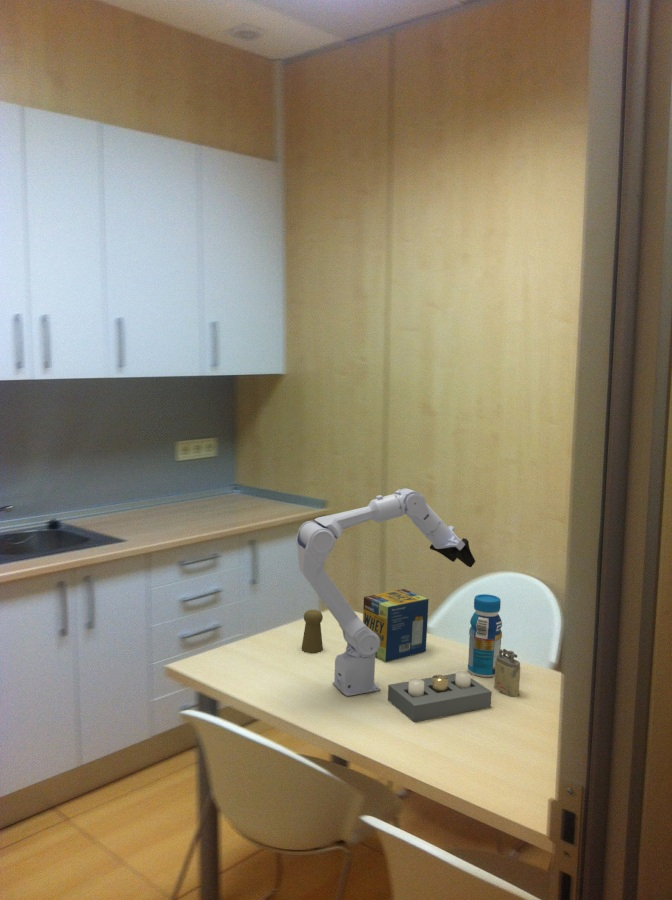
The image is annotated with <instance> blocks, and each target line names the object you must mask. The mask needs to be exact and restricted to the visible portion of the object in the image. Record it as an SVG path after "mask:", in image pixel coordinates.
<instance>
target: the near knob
mask: <svg viewBox="0 0 672 900" xmlns="http://www.w3.org/2000/svg"><path fill="white" fill-rule="evenodd" d="M420 679H421V678H411V679H409V680H408V681H409V688H408V694H409V695H410V696H411V697H413V698H414V697H419V696H425V695H424V681H423V680H420Z"/></svg>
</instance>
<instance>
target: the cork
mask: <svg viewBox="0 0 672 900" xmlns="http://www.w3.org/2000/svg"><path fill="white" fill-rule="evenodd" d="M303 620H304V623H305V625H304V630H303V637H302V642H301V643H302V644H301V649H302V650H301V651H302V652H303V651H304V653H306V652H308V653H307V654H319V653H318V652H320V653H322V652H323V651H324V646H323V638H322V637H323V636H322V635H323V634H322V627H321V622H322V621H323V614H322V612H321V611H320V610H317V609H309V610H308V609H307V610H306V611H305V612H304V614H303ZM322 650H323V651H322ZM321 651H322V652H321Z"/></svg>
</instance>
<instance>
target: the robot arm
mask: <svg viewBox="0 0 672 900" xmlns="http://www.w3.org/2000/svg"><path fill="white" fill-rule="evenodd" d="M405 515H406V516H407V517H408V519H410V520H411V522H412V523H413V524H414V525H415V527H417V529H418V531H420V532H421V533H422V534H423V535H424V536H425V538H426V539H427V540H428V541H429V542H430V543H431V544H430V546H429V549H430V550H432V551H435V552H437V553H438V554H440V555H442V556H443V557H444V558H446V559H448V560H449V561H451V562H452V563H454V562H456V560H459V561H460V562H461V563H463V564H464V565H465V566H467V567H469V568H472V567H473V566H474V564H475V563H476V560H475V557H474V556H473V554H472V551H471V549H470V543H469V540H468V539H467V538H466V537H465V538H464V537H463V538H462V539H461V538H459V537H458V536H457V535H456V533H455V530H456V528H455V527H454V526H453V525H449V526H447V524H446V523H445V522H444V521H443V519H441V517H440V516H438V513H436V512H435V511H434V510H433V509H432V508H431V506H430V505H428V504H427V501H426V498H425V495H424V494H421V493H420V492H417V491H415V490H412V489H410V488H405V487H404V488H399V489H397V490H396V491H394V493H392V494H388V495H384V496H383V495H381V494H380V495H376V496H375V498H374V499H371V500H370V502H369V503H368V505H367V506H364V507H359V508H355V509H351V510H347V511H342V512H337V513H334V514H330V515H329V514H328V515H324V516H319V517H316V518H314V520H308V521H305V522H303V523H302V524H301V525H300V526H299V528H298V531H297V535H296V538H295V543H296V546H297V553H298V554H297V555H298V556H297V557H298V559H297V560H298V569H299V571H300V573H301V574H302V575H303V576H304V578H305V580H306V581H307V582H308V583H309V585H310V586H311V587H312V589H313V591H314V593H316V595H317V596H318V597H319V598H320V600H321V602H322V603H323V604H324V605H325V607H326V608H327V610H329V612H330V614H331V615H332V616H333V618H334V619H335V620H336V621H337V624H338V625H339V627H340V629H341V631H342V635H343V639H344V641H346V648H345V651H344V652H343V653H340V654H338V655H336V656H335V660H334V681H333V682H332V685H334V686H335V687H336V688H337V689H338V690H339V691H340V692H341V693H342V694H343V695H345V696H347V697H348V696H349V697H350V696H355V695H362V694H369V693H373V692H379V691H381V689H382V688H381V687H380V686H379V685H377V684H376V683H375V673H376V672H375V670H376V667H375V666H376V657H375V653H376V652H377V651H378V649H379V647H380V639H379V636H378V635H377V634H376V633H375V632H373V631H371V630H370V629H369V628H368V627H367V626H366V625H365V624H364V623H363V620H362V619H360V617H359V616H358V615H357V614H356V612H355V610H354V609H353V608H352V606H351V604H349V602H348V600H347V599H346V598H345V597H344V595H343V594H342V593H341V591H340V590H339V588H338V587H337V586H336V584H335V583H334V581H333V580H332V579H331V577H330V576H329V574H328V573H327V572H326V571H325V569H324V565H325V563H326V560H327V559H328V557H329V555H330V554H331V552H332V551H333V549H334V547H335V545H336V540H340V538H341V536H342V533H343V531H344V530H346V529H349V528H351V527H355V526H357V525H360V524H363V523H365V522H368V521H371V520H372V521H374V522H375V523H382V522H386V521H389V520H392V519H397V518H399V517H402V516H405Z"/></svg>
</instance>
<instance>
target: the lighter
mask: <svg viewBox="0 0 672 900" xmlns="http://www.w3.org/2000/svg"><path fill="white" fill-rule="evenodd" d="M515 658H518V655H517V654H516V653H515V651H514V650H507V649H506V648H503V649H499V655H497V658H496V666H495V676H494V685H493V688H494V689H496V690H497V691H498V692H499V693H502V694H505V695H507V696H509V697H517V696H519V695H520V679H521V677H520V676H521V662H520V661H519V660H516V659H515Z"/></svg>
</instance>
